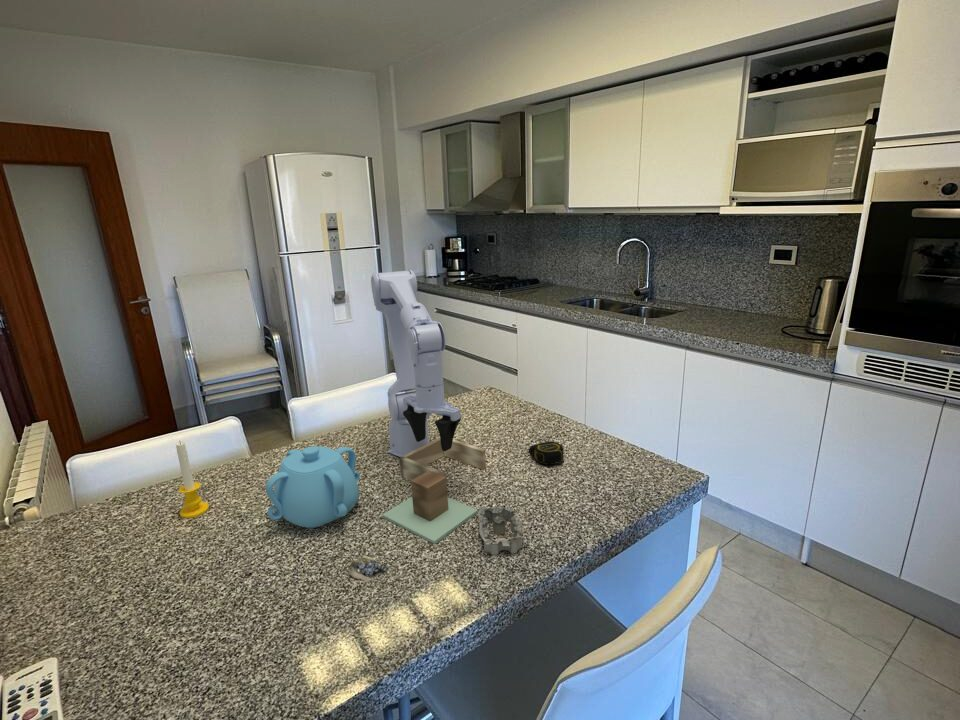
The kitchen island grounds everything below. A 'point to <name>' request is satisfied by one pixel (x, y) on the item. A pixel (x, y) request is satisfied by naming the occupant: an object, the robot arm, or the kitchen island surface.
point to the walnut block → (429, 495)
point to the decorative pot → (314, 486)
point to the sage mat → (430, 529)
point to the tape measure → (547, 452)
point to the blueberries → (366, 568)
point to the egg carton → (500, 529)
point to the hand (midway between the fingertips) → (433, 444)
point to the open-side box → (419, 458)
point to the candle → (189, 486)
